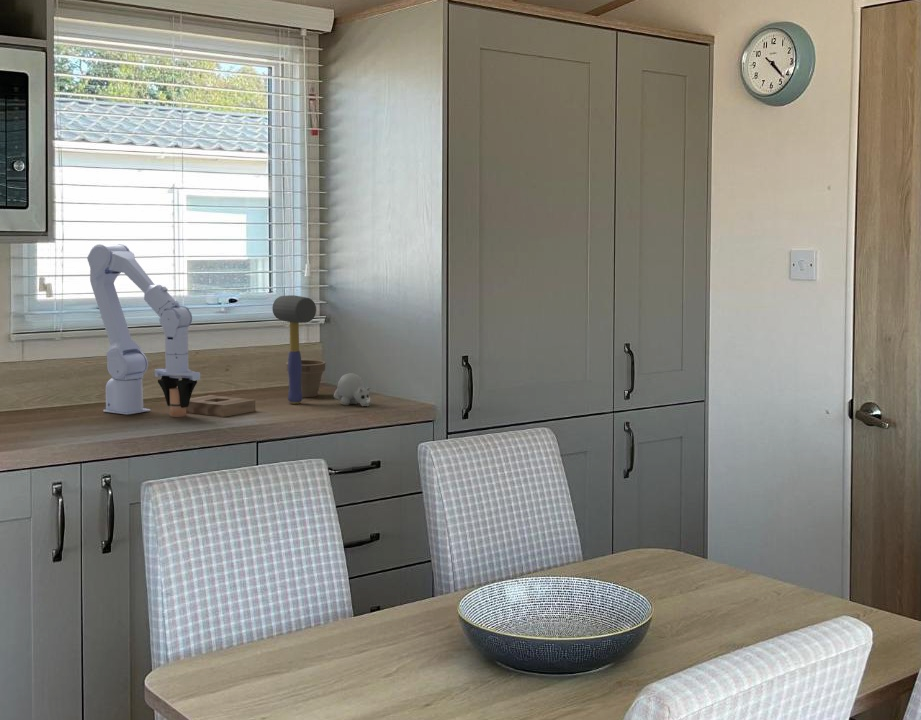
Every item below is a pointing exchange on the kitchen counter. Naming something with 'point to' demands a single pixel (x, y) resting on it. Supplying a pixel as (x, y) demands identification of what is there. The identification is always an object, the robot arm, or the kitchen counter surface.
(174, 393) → the peg
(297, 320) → the rubber mallet
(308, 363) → the flower pot
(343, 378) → the chubby cartoon animal
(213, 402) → the socket board
